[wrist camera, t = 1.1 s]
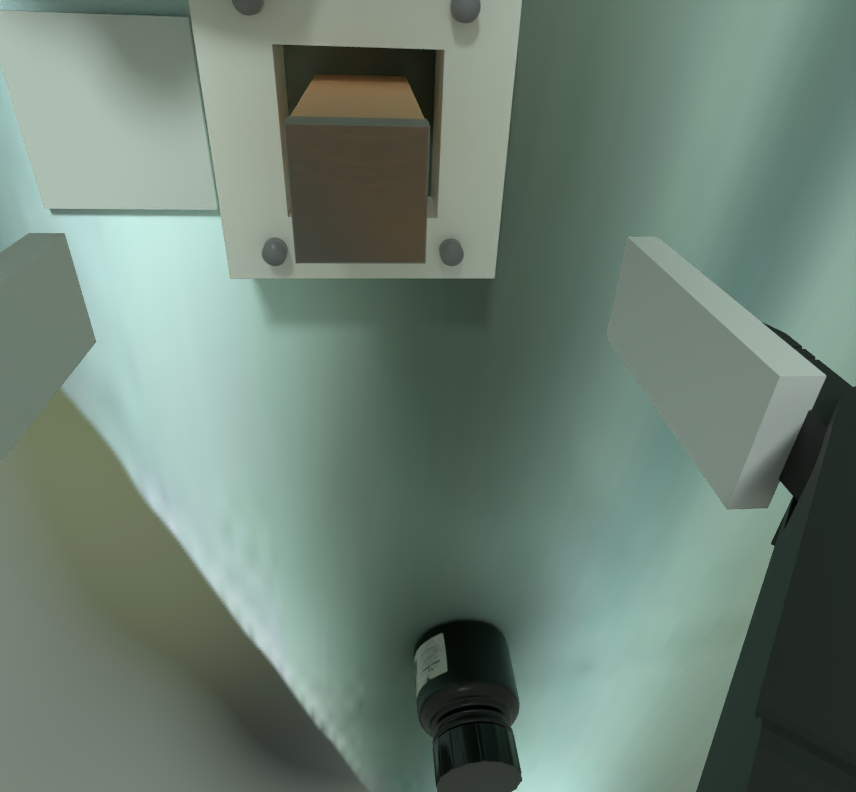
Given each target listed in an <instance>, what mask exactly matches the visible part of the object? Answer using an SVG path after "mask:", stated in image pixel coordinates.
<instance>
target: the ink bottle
mask: <svg viewBox="0 0 856 792" xmlns="http://www.w3.org/2000/svg"><path fill="white" fill-rule="evenodd" d="M414 670H415V684H416V698H417V711H418V718H419V722H420V724H421V726H422V728H423V729H424V730H425V732H426V733H427V734H429V735H430V736H431V737H433V758H434V769H435V781H436V787H437V792H512V791H514V790H516V789H517V787H518V785H519V784H520V782H521V781H522V777H521V768H520V763H519V758H518V753H517V748H516V743H515V738H514V735H513V730H512V728H511V726H512V724H513V723H514V722H515V720H516V718H517V716H518V713H519V697H518V692H517V687H516V683H515V678H514V673H513V669H512V664H511V659H510V655H509V650H508V646H507V642H506V639H505V637H504V635H503V634H502V633H501V632H500V631H499V630H498V629H497V628H496V627H494V626H492V625H490V624H487V623H484V622H478V621H457V622H451V623H447V624H443V625H440V626H437V627H435V628H433V629H431V630H429V631H428V632H426V633H425V634H424V635H423V636H422V637H421V638H420V640H419V641H418V643H417V645H416V647H415V650H414Z"/></svg>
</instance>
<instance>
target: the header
mask: <svg viewBox="0 0 856 792" xmlns="http://www.w3.org/2000/svg"><path fill="white" fill-rule="evenodd" d="M188 3H189V9H190V16H191V22H192V29H193V36H194V42H195V49H196V55H197V62H198V69H199V75H200V82H201V88H202V95H203V102H204V108H205V115H206V121H207V128H208V135H209V141H210V148H211V154H212V161H213V168H214V174H215V181H216V187H217V194H218V201H219V207H220V214H221V220H222V227H223V233H224V240H225V247H226V253H227V260H228V266H229V273H230V279H329V278H495V269H496V259H497V249H498V238H499V228H500V218H501V208H502V198H503V188H504V178H505V168H506V157H507V147H508V137H509V127H510V117H511V107H512V97H513V87H514V76H515V66H516V56H517V46H518V36H519V26H520V16H521V6H522V0H188ZM283 45H312V46H343V47H375V48H406V49H436V61H435V89H434V118H433V146H432V174H431V196H428V207H427V237H426V264H333V263H296V262H295V251H294V240H293V228H292V217H291V206H290V194H289V183H288V172H287V160H286V149H285V138H284V127H283V122H284V120H285V119H286V117H287V116H289V110H288V98H287V86H286V74H285V62H284V50H283Z"/></svg>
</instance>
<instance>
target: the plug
mask: <svg viewBox="0 0 856 792" xmlns="http://www.w3.org/2000/svg"><path fill="white" fill-rule="evenodd" d="M283 127H284V138H285V149H286V160H287V172H288V183H289V194H290V206H291V217H292V228H293V240H294V251H295V262H296V263H333V264H426V237H427V207H428V177H429V146H430V124H429V122H428V120H427V119H425V118H424V116H423V114H422V112H421V109H420V107H419V105H418V103H417V101H416V98H415V96H414V94H413V92H412V90H411V87H410V85H409V83H408V81H407V78H406V76H378V75H343V74H315V76H314V78H313V79H312V81H311V82H310V84H309V86H308V87H307V89H306V91H305V92H304V94H303V96H302V97H301V99H300V100H299V102H298V104H297V105H296V107H295V109H294V110H293V112H292V114H291V115H290V116H287V117H286V119H285V120H284V122H283Z"/></svg>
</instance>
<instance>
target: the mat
mask: <svg viewBox="0 0 856 792" xmlns="http://www.w3.org/2000/svg"><path fill="white" fill-rule="evenodd" d="M0 65H1V68H2V72H3V75H4V78H5V81H6V85H7V88H8V91H9V94H10V98H11V101H12V104H13V107H14V111H15V114H16V117H17V120H18V124H19V127H20V130H21V133H22V137H23V140H24V143H25V146H26V150H27V153H28V156H29V160H30V163H31V166H32V169H33V173H34V176H35V179H36V182H37V186H38V189H39V192H40V195H41V199H42V202H43V205H44V208H45V209H155V210H218V208H219V207H218V200H217V193H216V187H215V180H214V174H213V167H212V161H211V154H210V148H209V141H208V134H207V128H206V121H205V115H204V108H203V102H202V95H201V88H200V82H199V75H198V69H197V62H196V56H195V49H194V43H193V36H192V29H191V23H190V17H178V16H150V15H122V14H94V13H66V12H38V11H10V10H0Z"/></svg>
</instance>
